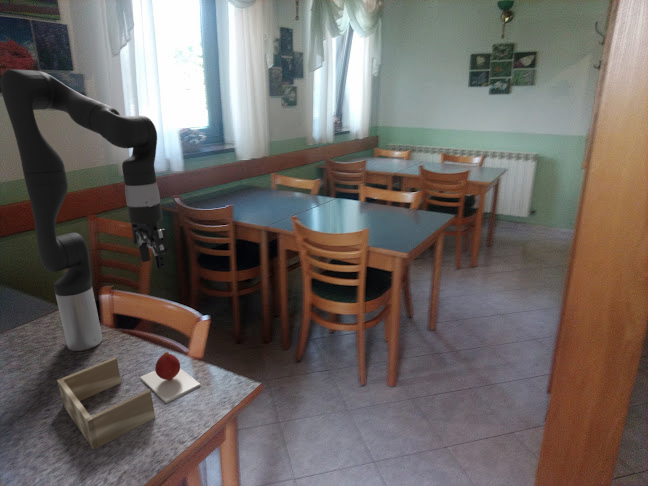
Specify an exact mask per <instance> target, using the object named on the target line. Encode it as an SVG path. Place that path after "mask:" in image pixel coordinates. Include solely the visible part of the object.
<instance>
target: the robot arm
mask: <svg viewBox="0 0 648 486" xmlns="http://www.w3.org/2000/svg"><path fill="white" fill-rule="evenodd" d="M0 89H1V94H2V99H3V102H4V106H5V108H6V111H7V115H8V118H9V120H10V124H11V126H12V129H13V133H14V137H15V140H16V143H17V144H16V145H17V148H18V151H19V153H18V154H19V157H20V163H21V167H22V172H23V177H24V182H25V186H26V189H27V194H28V198H29V202H30V207H31V210H32V215H33V221H34V228H35V229H34V230H35V237H36V245H37V250H38V251H37V252H38V255H39V260H40V262H41V264H42V265H41V266H43V268H44V269H45V270H46V271H47V272H49V273H56V272H61V271H65V270H67V271H66V273H64V274H63V275H62V276H61V277H60V278H58V279H57V280H56V281H55V282H54V284H53V289H54V293H55V299H56V302H57V305H58V306H57V307H58V311H59V312H58V313H59V315H60V319H61V324H62V329H63V333H64V338H65V341H66V342H65V343H66V347H67V349H68V350H70V351H73V352H81V351H85V350H90V349H92V348H94V347H97V346H98V345H99V344H100V343H102V341H103V333H102V329H101V324H100V320H99V319H100V318H99V315H98V314H99V313H98V309H97V304H96V299H95V295H94V294H95V293H94V290H93V285H92V284H93V283H92V275H93V274H92V270H91V263H90V262H91V261H90V254H89V249H88V245H87V242H86V240H85V239H84V237H83V236H82V235H81V234H79V233H78V232H70V233H69V232H68V233H64V234H62V235H56V224H57V223H56V222H57V218H58V214H59V212H60V210H61V207H62V205H63V203H64V200H65V198H66V196H67V194H68V193H67V192H68V188H69V186H68V185H69V184H68V177H67V173H66V168H65V164H64V161H63V160H62V157H61V156H60V155H59V154H58V152H57V151H56V150H55V149H54V147H53V146H52V145H51V144H50V143H49V141H47V139H46V138H45V137H44V136H43V134H42V133H41V130H40V129H39V127H38V124H37V120H36V117H35V116H36V115H35V112H34V111H37V110H38V111H39V110H40V111H41V110H42V111H43V110H47V109H52V110H56V111H61V112H65V113H67V114H68V115H69V117H70V118H71V120H72V121H74V122H75V123H76V124H77V125H78V126H80V127H82V128H85V130H86V129H87V130H89V131H92V132H93V133H96V134H99V135H100V136H101V137H102V138H104V140H106V141H107V142H108V143H110V144H111V145H112V146H115V147H117V148H121V149H132V153H131V156H129V157H128V158H127V159H125V160H123V162H122V163H121V166H122V167H121V169H122V174H123V180H124V188H125V189H124V191H125V192H124V193H125V200H126V207H127V213H128V218H129V222H130V225H131V232H132V239H133V243H134V245H136V247H137V249H138V251H139V257H140V261H141V262H142V263H146V262H150V260H151V255H150V249H151V251H152V253H153V257H154V265H155V269H156V270H157V271H162V270H165V269H166V267H167V266H166V260H165V258H166V257H165V254H168V253H169V252H170V251H169V247H168V246H169V245H168V240H167V235H166V229H165V228H161V229H160V228H159V226H158V223H159V222H160V221H162V220H163V211H162V203H161V196H160V190H159V187H158V182H157V176H156V169H155V160H156V155H157V154H156V153H157V146H158V145H157V144H158V132H157V129H156V126H155V124H154V123H153V121H152V119H150V118H149V117H147V116H146V115H125V116H124V115H121V114H120V112H119V111H118V110H117V109H116V108H114V107H112V106H110V105H108V104H106V103H104V102H101V101H98V100H96V99H94V98H90V97H88V96H86V95H83V94H81V93H80V92H78V91H76V90H74V89H72V88H71V87H70V86H67V85H66V84H65V83H63V82H61V81H60V80H58V79H57V78H56V77H54V76H53V75H51V74H48V73H46V72H44V71H41V70H32V69H31V70H29V69H6V70H5V71H3V73H2V75H1V76H0Z"/></svg>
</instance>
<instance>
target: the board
mask: <svg viewBox="0 0 648 486" xmlns="http://www.w3.org/2000/svg"><path fill="white" fill-rule="evenodd" d="M139 379H140V380H141V381H142V382H143V383H144V384H145V385H146V386H147V387H148V388H149V390H150V391H152V392H153V393H154V394H156V396H158V397H159V398H160V400H162V401H163V402H164V403H165V404H168V403H169V402H172V401H174V400H175V399H177V398H179V397H181V396H184V395H185V394H187V393H189V392H191V391H194V390H196V389H197V388H199V387H201V383H200V382H199V381H197V380H196V379H195V378H193V377H192V376H191V375H190V374H188V373H187V372H186V371H185V370H183V369H182V368H181V367H180V370H179V373H178V374H177V375H176V376H175V377H174V378H173V379H172V380H165V379H162V378H160V377H159V376H158V375H157V374H156V371H155V370H153V371H151V372H149V373H146V374H144V375H142V376H139Z"/></svg>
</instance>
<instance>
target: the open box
mask: <svg viewBox="0 0 648 486" xmlns="http://www.w3.org/2000/svg"><path fill="white" fill-rule="evenodd" d="M56 381H57V385H58V390H59V393H60V398H61V402H62V406H63V408H64V409H65V410H66V412H67V413H68V415H69V416H70V417H71V419H72V420H73V422H74V423H75V425H76V427H78V429H79V432H81V433H82V435H83V437H84V438H85V439H86V441H87V442H88V444H89V445H90V447H91V448H92V449H93V450H96V449H98V448H101V447H102V446H104V445H105V444H108V443H110V442H112V441H114V440H116V439H117V438H119V437H121V436H123V435H125V434H127V433H129V432H131V431H133V430H135V429H137V428H139V427H141V426H143V425H144V424H146V423H149V422H150V421H153V420H154V419H156V414H155V408H154V401H153V397H152V396H153V395H152V390H151V389H150V388H149V389H146V390H145V391H141V392H140V393H138V394H136V395H133V396H131V397H129V398H128V399H125V400H123V401H120V402H119V403H116V404H114V405H113V406H110V407H108V408H105V409H104V410H102V411H100V412H98V413H95V414H93V415H90V413H89V412H88V411H87V409H86V408H85V407H84V405H83V404H82V403H81V401H83V400H86V399H88V398H91V397H93V396H95V395H98V394H100V393H102V392H104V391H106V390H108V389H111V388H113V387H115V386H117V385H119V384H122V379H121V375H120V368H119V363H118V358H117V357H116V356H114V357H113V358H109V359H107V360H105V361H102V362H100V363H97V364H95V365H92V366H89V367H87V368H84V369H82V370H79V371H77V372H74V373H71V374H69V375H67V376H64V377H62V378H59V379H57V380H56Z"/></svg>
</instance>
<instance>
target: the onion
mask: <svg viewBox="0 0 648 486" xmlns="http://www.w3.org/2000/svg"><path fill="white" fill-rule="evenodd" d="M180 368H181V361H180V360H179V359H178V358H177V356H176V355H173V354H171V353H169V351H165V352H164V353H163V354H162V355H161V356H160V357H159V358H158V359H157V361H156V363H155V370H154V371H156V374H157V375H158V376H159V377H160V378H162V379H165V380H172V379H173V378H174V377H175V376H176V375H177V374H178V373H179V370H180Z"/></svg>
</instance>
